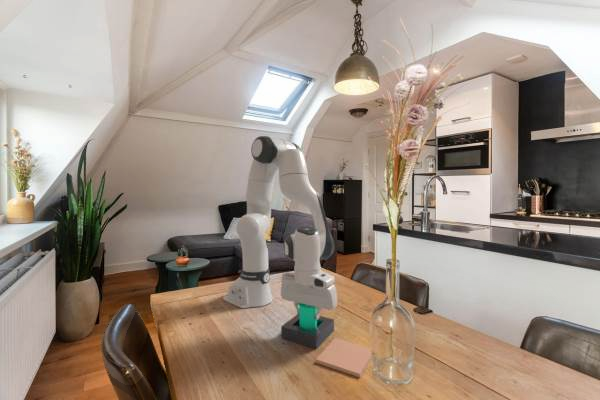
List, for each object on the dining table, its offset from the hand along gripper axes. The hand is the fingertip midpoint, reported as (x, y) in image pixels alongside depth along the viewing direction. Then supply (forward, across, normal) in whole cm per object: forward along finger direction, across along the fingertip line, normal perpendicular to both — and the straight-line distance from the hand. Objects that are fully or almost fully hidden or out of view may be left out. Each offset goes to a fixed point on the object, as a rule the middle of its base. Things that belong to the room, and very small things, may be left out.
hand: (308, 316), depth 97 cm
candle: (+6, 0, 0) cm, 6 cm away
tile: (+6, +16, -6) cm, 18 cm away
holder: (+6, 0, 0) cm, 6 cm away
